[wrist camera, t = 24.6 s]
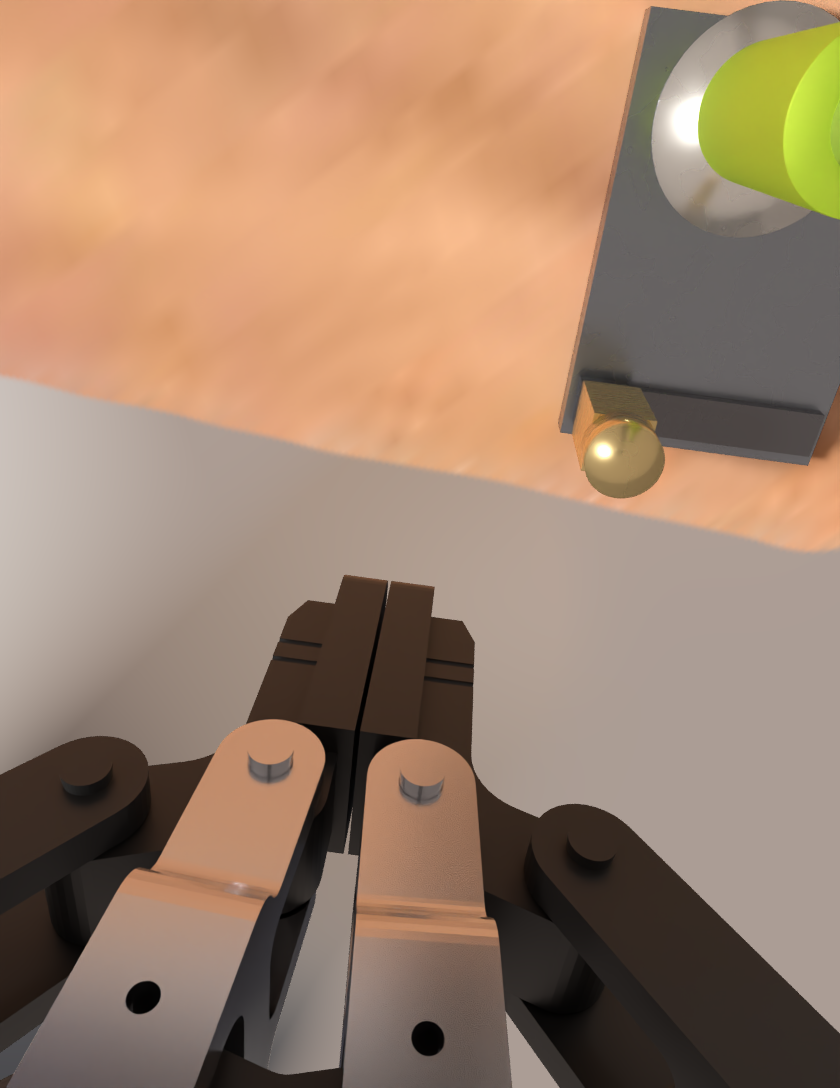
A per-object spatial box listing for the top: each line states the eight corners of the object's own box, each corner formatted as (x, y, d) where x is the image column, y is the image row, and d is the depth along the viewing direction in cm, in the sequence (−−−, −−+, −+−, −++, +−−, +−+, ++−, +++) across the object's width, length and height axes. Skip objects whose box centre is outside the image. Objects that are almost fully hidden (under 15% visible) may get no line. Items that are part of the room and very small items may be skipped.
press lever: (579, 374, 41) (594, 421, 35) (647, 383, 41) (674, 432, 35) (565, 437, 43) (577, 492, 37) (630, 446, 43) (653, 503, 37)
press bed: (650, -12, 35) (659, -19, 33) (962, 27, 35) (990, 23, 33) (558, 423, 46) (561, 437, 44) (798, 455, 45) (812, 471, 43)
